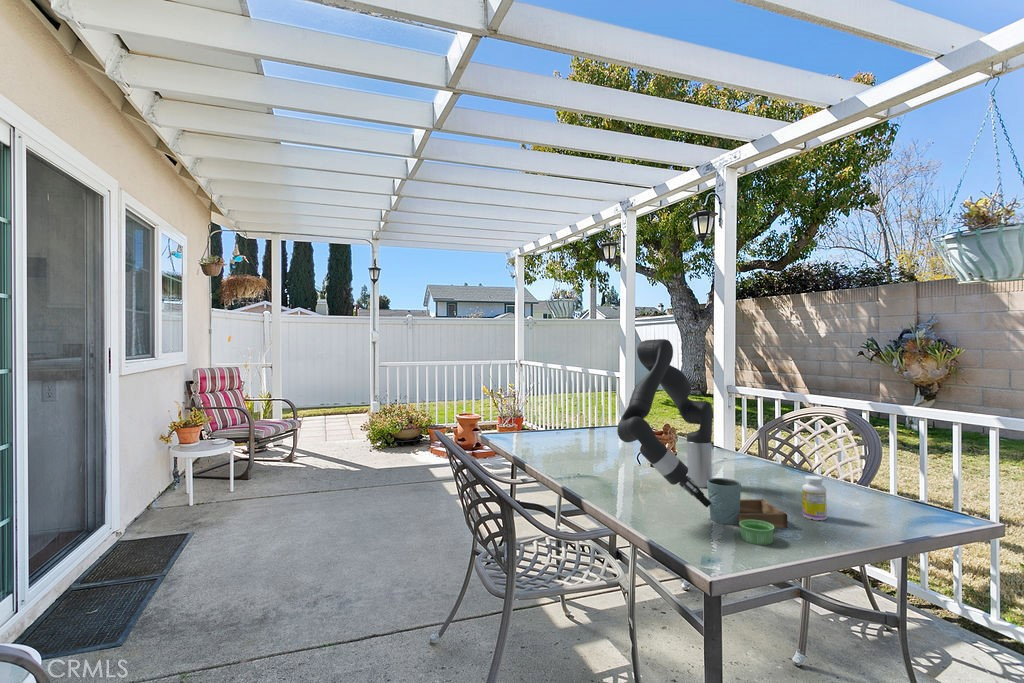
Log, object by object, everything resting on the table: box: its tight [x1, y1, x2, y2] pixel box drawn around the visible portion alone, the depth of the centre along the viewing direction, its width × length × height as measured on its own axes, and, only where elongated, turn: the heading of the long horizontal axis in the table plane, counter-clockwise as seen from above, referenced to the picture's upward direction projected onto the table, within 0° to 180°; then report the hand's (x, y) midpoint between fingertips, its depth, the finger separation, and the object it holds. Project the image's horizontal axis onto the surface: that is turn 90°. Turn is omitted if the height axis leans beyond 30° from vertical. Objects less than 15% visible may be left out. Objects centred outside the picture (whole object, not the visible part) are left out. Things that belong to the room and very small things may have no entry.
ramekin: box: [738, 519, 775, 546], centre depth 144 cm, size 9×9×4 cm
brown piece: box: [738, 498, 789, 529], centre depth 161 cm, size 15×14×4 cm
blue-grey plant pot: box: [706, 477, 742, 525], centre depth 161 cm, size 10×10×12 cm
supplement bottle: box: [801, 475, 828, 521], centre depth 162 cm, size 7×7×13 cm
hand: (708, 504), depth 161 cm, fingers closed
